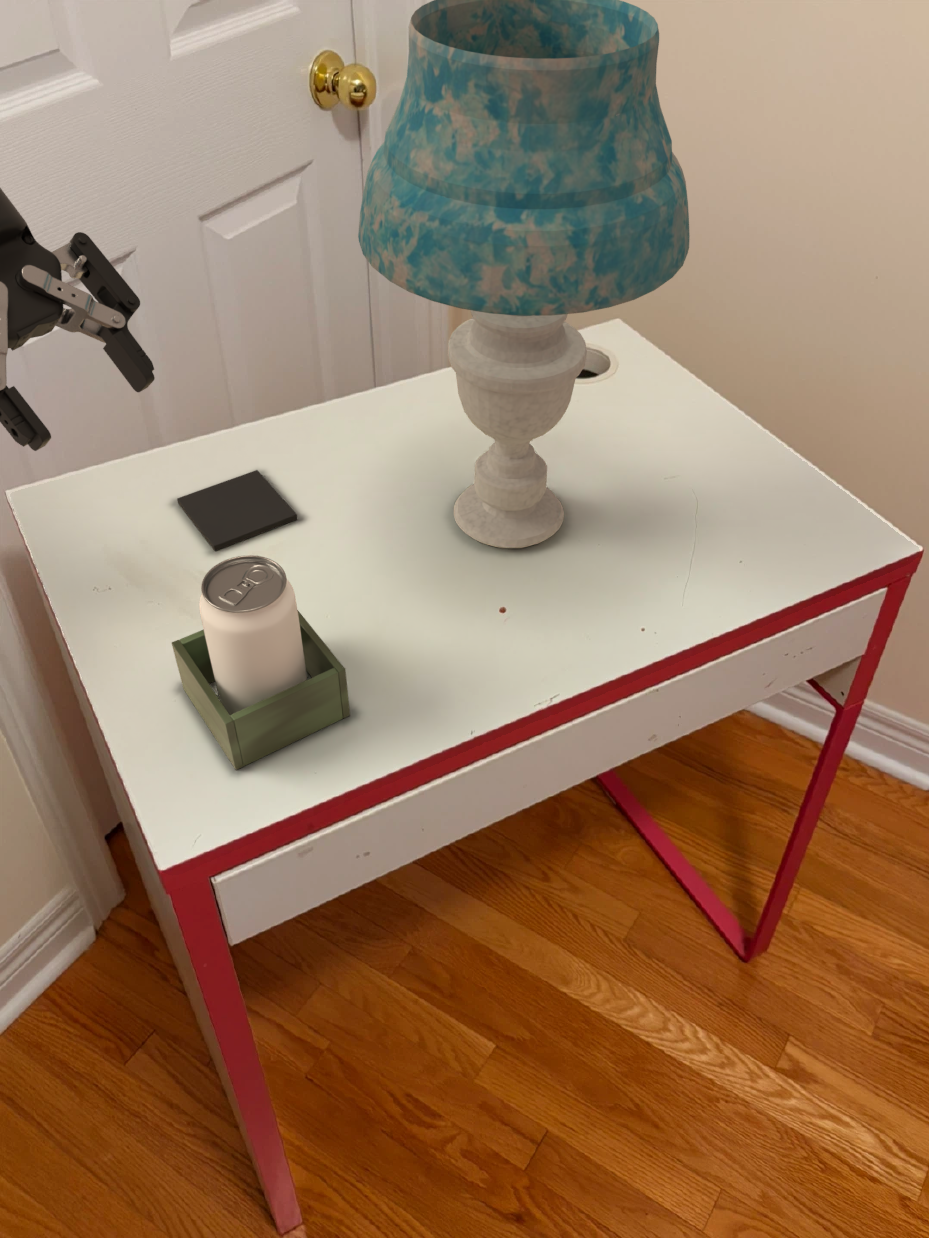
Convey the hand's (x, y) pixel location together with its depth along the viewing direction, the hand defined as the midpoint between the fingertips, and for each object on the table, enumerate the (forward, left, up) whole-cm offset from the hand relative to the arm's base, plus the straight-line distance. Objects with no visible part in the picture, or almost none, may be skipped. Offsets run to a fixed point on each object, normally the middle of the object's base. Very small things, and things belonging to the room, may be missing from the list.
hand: (97, 414), depth 68 cm
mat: (+12, +11, -21) cm, 26 cm away
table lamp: (+32, -3, -21) cm, 38 cm away
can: (+4, -11, -21) cm, 24 cm away
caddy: (+4, -11, -21) cm, 24 cm away
